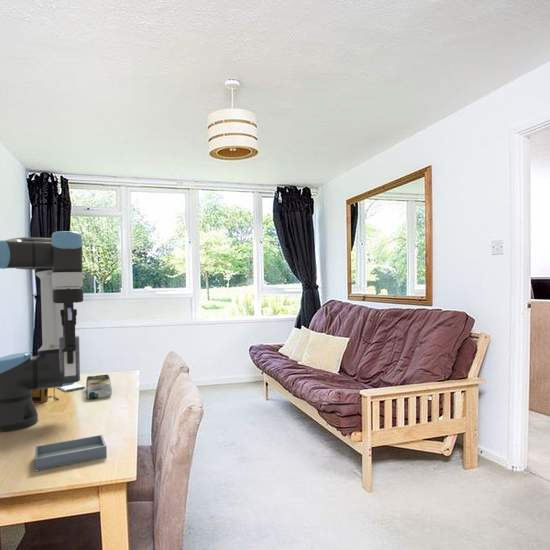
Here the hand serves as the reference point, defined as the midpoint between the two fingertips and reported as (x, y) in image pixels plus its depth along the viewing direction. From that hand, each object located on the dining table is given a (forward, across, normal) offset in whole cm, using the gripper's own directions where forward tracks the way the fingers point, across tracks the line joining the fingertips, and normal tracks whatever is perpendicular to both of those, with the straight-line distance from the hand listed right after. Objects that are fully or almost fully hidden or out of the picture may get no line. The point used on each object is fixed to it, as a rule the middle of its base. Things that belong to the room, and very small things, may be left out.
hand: (69, 373), depth 119 cm
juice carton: (+23, +70, -14) cm, 75 cm away
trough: (+23, 0, 0) cm, 23 cm away
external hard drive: (+23, +86, -4) cm, 89 cm away
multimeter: (+23, +71, +7) cm, 75 cm away
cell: (+2, 0, 0) cm, 2 cm away
